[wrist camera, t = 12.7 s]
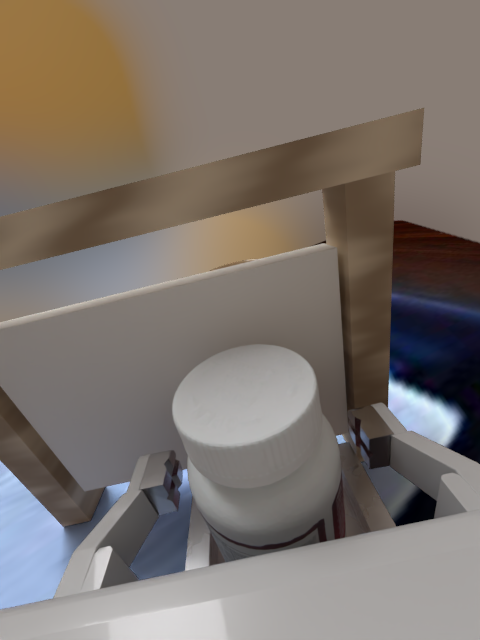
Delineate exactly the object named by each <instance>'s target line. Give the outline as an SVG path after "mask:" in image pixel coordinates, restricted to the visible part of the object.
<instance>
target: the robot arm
mask: <svg viewBox="0 0 480 640" xmlns="http://www.w3.org/2000/svg"><path fill="white" fill-rule="evenodd" d="M348 417H349V419H350V422H349V423H348V426H349V431H350V435H351V437H352V439H353V441H354V443H355V445H356V446H357V447H359V448H361V455H362V457H363V459H364V460H365V462H366V464H367V466H368V467H369V469H373V468H379V467H384V466H390V467H391V468H393V469H394V470H395V471H397V472H398V473H400V474H401V475H402V476H404V477H405V478H406V479H408V480H409V481H410V482H412V483H413V484H415V485H416V486H417V487H419V488H420V489H421V490H423V491H424V492H425V493H427V494H428V495H430V496H431V497H432V498H434V499H435V500H436V501H437V504H436V510H435V515H434V518H435V519H431V520H426V521H421V522H416V523H412V524H407V525H402V526H397V527H393V528H388V529H383V530H378V531H373V532H369V533H364V534H359V535H354V536H349V537H345V538H340V539H335V540H330V541H325V542H321V543H316V544H311V545H306V546H301V547H297V548H292V549H287V550H282V551H277V552H273V553H268V554H263V555H258V556H254V557H249V558H244V559H239V560H235V561H230V562H225V563H220V564H215V565H211V566H206V567H201V568H196V569H192V570H187V571H182V572H177V573H173V574H168V575H163V576H158V577H153V578H149V579H144V580H139V581H138V578H137V576H136V575H135V574H134V573H133V572H132V570H131V569H130V568H129V567H130V565H131V563H132V562H133V560H134V558H135V557H136V555H137V553H138V551H139V550H140V548H141V546H142V545H143V543H144V541H145V539H146V538H147V536H148V534H149V533H150V531H151V529H152V528H153V526H154V524H155V522H156V521H157V519H158V517H159V515H163V514H167V513H171V512H175V511H178V505H179V499H180V493H179V491H178V488H179V487H180V485H181V484H182V478H183V475H182V466H181V463H180V461H178V460H176V459H175V458H176V453H175V452H174V450H169V451H164V452H159V453H153V454H149V455H144V456H140V458H139V459H138V461H137V464H136V467H135V470H134V473H133V476H132V479H131V481H130V484H129V487H128V490H127V493H125V494H123V495H122V496H121V497H120V498H119V500H118V501H117V502H116V503H115V504H114V505H113V507H112V508H111V509H110V510H109V511H108V512H107V514H106V515H105V516H104V517H103V518H102V519H101V521H100V522H99V523H98V524H97V525H96V526H95V528H94V529H93V530H92V531H91V532H90V533H89V535H88V536H87V537H86V538H85V539H84V540H83V542H82V543H81V544H80V545H79V546H78V547H77V549H76V550H75V551H74V552H73V554H72V556H71V559H70V561H69V563H68V566H67V568H66V570H65V572H64V575H63V577H62V579H61V581H60V584H59V586H58V588H57V591H56V593H55V595H54V597H53V599H48V600H44V601H39V602H34V603H29V604H24V605H20V606H15V607H10V608H5V609H0V640H480V464H479V463H477V462H474V461H472V460H470V459H468V458H466V457H464V456H462V455H460V454H458V453H456V452H454V451H452V450H450V449H448V448H446V447H444V446H442V445H440V444H438V443H436V442H433V441H431V440H429V439H427V438H425V437H423V436H421V435H419V434H417V433H415V432H413V431H407V430H406V429H405V427H404V426H403V425H402V424H401V423H400V422H399V420H398V419H397V418H396V417H395V416H394V415H393V414H392V412H391V411H390V410H389V409H388V408H387V407H386V405H385V404H383V403H382V402H381V403H377V404H373V405H368V406H363V407H359V408H355V409H351V410H348Z"/></svg>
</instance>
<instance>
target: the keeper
mask: <svg viewBox="0 0 480 640" xmlns="http://www.w3.org/2000/svg"><path fill="white" fill-rule="evenodd" d="M338 446H339V451H340V458H341V468H342V481H343V495H344V508H345V522H346V534H347V537H349V536H354V535H359V534H364V533H369V532H373V531H378V530H383V529H388V528H393V527H396V525H395V523H394V521H393V520H392V518H391V516H390V514H389V512H388V511H387V509H386V507H385V505H384V503H383V502H382V500H381V498H380V496H379V494H378V493H377V491H376V489H375V487H374V485H373V484H372V482H371V480H370V478H369V476H368V475H367V473H366V471H365V469H364V467H363V466H362V464H361V462H360V460H359V458H358V457H357V455H356V453H355V451H354V449H353V448H352V446H351V444H350V442H346V443H342V444H338ZM225 562H226V561H225V559H224V558H223V556H222V554H221V552H220V550H219V547H218V545H217V543H216V541H215V540H214V538H213V536H212V534H211V532H210V530H209V528H208V526H207V524H206V522H205V520H204V519H203V517H202V515H201V513H200V511H199V510H198V508H197V506H196V504H195V500H194V498H193V496H192V506H191V516H190V526H189V535H188V545H187V555H186V565H185V571H187V570H192V569H196V568H201V567H206V566H211V565H215V564H220V563H225Z"/></svg>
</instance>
